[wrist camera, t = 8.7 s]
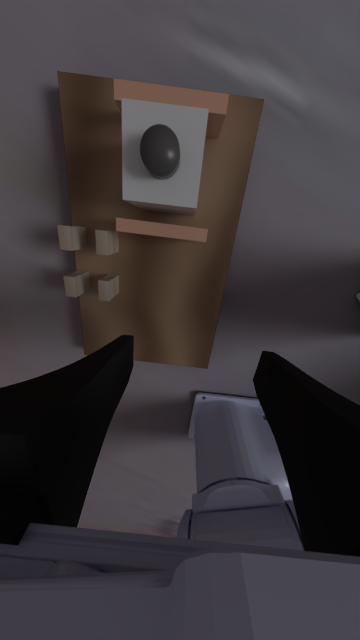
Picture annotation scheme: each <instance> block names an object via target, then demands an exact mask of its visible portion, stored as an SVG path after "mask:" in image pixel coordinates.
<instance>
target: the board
mask: <svg viewBox="0 0 360 640" xmlns="http://www.w3.org/2000/svg"><path fill="white" fill-rule="evenodd" d="M57 74H58V84H59V95H60V105H61V115H62V126H63V136H64V146H65V157H66V167H67V177H68V188H69V198H70V209H71V219H72V226H68V225H57V228H58V236H59V244H60V250H68V251H74V250H75V260H76V272H73V273H70V274H68V275H65V276H64V284H65V292H66V296H68V297H78V296H79V302H80V312H81V322H82V333H83V343H84V353H85V355H90V354H91V353H93V352H95V351H97V350H99V349H100V348H102V347H103V346H105V345H107V344H108V343H110V342H111V341H113V340H115V339H116V338H118V337H119V336H121V335H123V334H124V335H132V336H134V354H133V360H137V361H145V362H154V363H163V364H171V365H180V366H189V367H197V368H206V369H207V368H208V364H209V359H210V354H211V349H212V345H213V340H214V335H215V330H216V326H217V321H218V316H219V311H220V307H221V302H222V297H223V292H224V288H225V283H226V278H227V273H228V269H229V264H230V259H231V254H232V250H233V245H234V240H235V235H236V231H237V226H238V221H239V216H240V212H241V207H242V202H243V197H244V193H245V188H246V183H247V178H248V174H249V169H250V164H251V159H252V155H253V150H254V145H255V140H256V136H257V131H258V126H259V121H260V117H261V112H262V107H263V102H264V99H258V98H251V97H244V96H236V95H229V99H228V105H227V111H226V116H225V119H224V122H223V125H222V128H221V131H220V134H219V138H218V139H217V138H209V137H205V145H204V153H203V161H202V169H201V177H200V185H199V193H198V202H197V209H196V211H195V214H194V215H186V214H178V213H169V212H161V211H152V210H144V209H140V208H138V207H136V206H134V205H132V204H130V203H128V202H126V201H124V200H123V191H122V113H121V111H120V109H119V108H118V106H117V104H116V102H115V100H114V79H111V78H104V77H97V76H89V75H82V74H75V73H67V72H60V71H57ZM116 218H124V219H132V220H140V221H148V222H156V223H164V224H172V225H180V226H188V227H196V228H203V229H208V233H207V239H206V242H200V241H192V240H184V239H176V238H168V237H160V236H152V235H144V234H136V233H128V232H120V231H116Z"/></svg>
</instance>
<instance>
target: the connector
mask: <svg viewBox="0 0 360 640" xmlns="http://www.w3.org/2000/svg"><path fill="white" fill-rule="evenodd" d="M208 112H209V109H206V108H198V107H190V106H182V105H174V104H165V103H157V102H149V101H141V100H133V99H125V98H122V191H123V200H124V201H126V202H128V203H130V204H132V205H134V206H136V207H138V208H140V209H144V210H152V211H161V212H169V213H178V214H186V215H194V214H195V211H196V209H197V202H198V193H199V185H200V177H201V169H202V161H203V153H204V145H205V136H206V128H207V120H208Z"/></svg>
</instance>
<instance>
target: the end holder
mask: <svg viewBox="0 0 360 640" xmlns="http://www.w3.org/2000/svg"><path fill="white" fill-rule="evenodd" d="M122 98H125V99H133V100H141V101H149V102H157V103H165V104H174V105H182V106H190V107H198V108H206V109H209V112H208V120H207V128H206V136H205V137H209V138H217V139H218V138H219V134H220V131H221V128H222V125H223V122H224V119H225V116H226V111H227V105H228V99H229V94H224V93H217V92H209V91H202V90H194V89H187V88H180V87H172V86H165V85H158V84H150V83H143V82H136V81H128V80H121V79H114V100H115V102H116V104H117V106H118V108H119V109H120V111H121V113H122ZM116 231H120V232H128V233H136V234H144V235H152V236H160V237H168V238H176V239H184V240H192V241H200V242H206V239H207V233H208V229H203V228H196V227H188V226H180V225H172V224H164V223H156V222H148V221H140V220H132V219H124V218H116Z"/></svg>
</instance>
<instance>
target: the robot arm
mask: <svg viewBox="0 0 360 640" xmlns="http://www.w3.org/2000/svg"><path fill="white" fill-rule="evenodd" d="M133 354H134V336H132V335H124V334H123V335H121V336H119V337H118V338H116V339H115V340H113V341H111V342H110V343H108V344H107V345H105V346H103V347H102V348H100V349H99V350H97V351H95V352H93V353H91V354H90V355H88V356H86V357H84V358H82V359H80V360H78V361H76V362H74V363H72V364H70V365H68V366H65V367H63V368H61V369H58V370H56V371H53V372H50V373H47V374H45V375H42V376H39V377H36V378H33V379H30V380H27V381H24V382H20V383H17V384H13V385H10V386H6V387H2V388H0V640H360V405H358V404H356V403H354V402H352V401H350V400H348V399H347V398H345V397H343V396H341V395H339V394H338V393H336V392H334V391H333V390H331V389H329V388H328V387H326V386H324V385H323V384H321V383H320V382H318V381H316V380H315V379H313V378H312V377H310V376H309V375H307V374H306V373H304V372H303V371H302V370H300V369H299V368H297V367H296V366H294V365H293V364H291V363H290V362H289V361H287V360H286V359H284V358H283V357H281V356H279V355H278V354H276V353H274V352H269V351H262V354H261V357H260V360H259V363H258V366H257V369H256V372H255V375H254V378H253V382H254V386H255V390H256V394H257V397H258V399H255V398H246V397H237V396H229V395H220V394H211V393H202V392H198V393H196V395H195V400H194V405H193V410H192V415H191V421H190V426H189V431H188V437H189V438H190V439H195V452H196V479H197V494H193V495H192V509H187V510H186V511H185V513H184V515H183V517H182V519H181V521H180V523H179V526H178V531H177V538H174V537H164V536H154V535H144V534H135V533H125V532H115V531H106V530H96V529H86V528H77V525H78V522H79V518H80V515H81V511H82V508H83V505H84V501H85V498H86V494H87V491H88V488H89V485H90V481H91V478H92V475H93V472H94V469H95V466H96V462H97V459H98V456H99V453H100V450H101V447H102V444H103V441H104V438H105V435H106V432H107V430H108V427H109V424H110V422H111V419H112V417H113V415H114V412H115V410H116V408H117V406H118V404H119V402H120V399H121V397H122V395H123V393H124V391H125V388H126V386H127V384H128V382H129V378H130V375H131V372H132V368H133ZM203 396H205V397H203Z"/></svg>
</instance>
